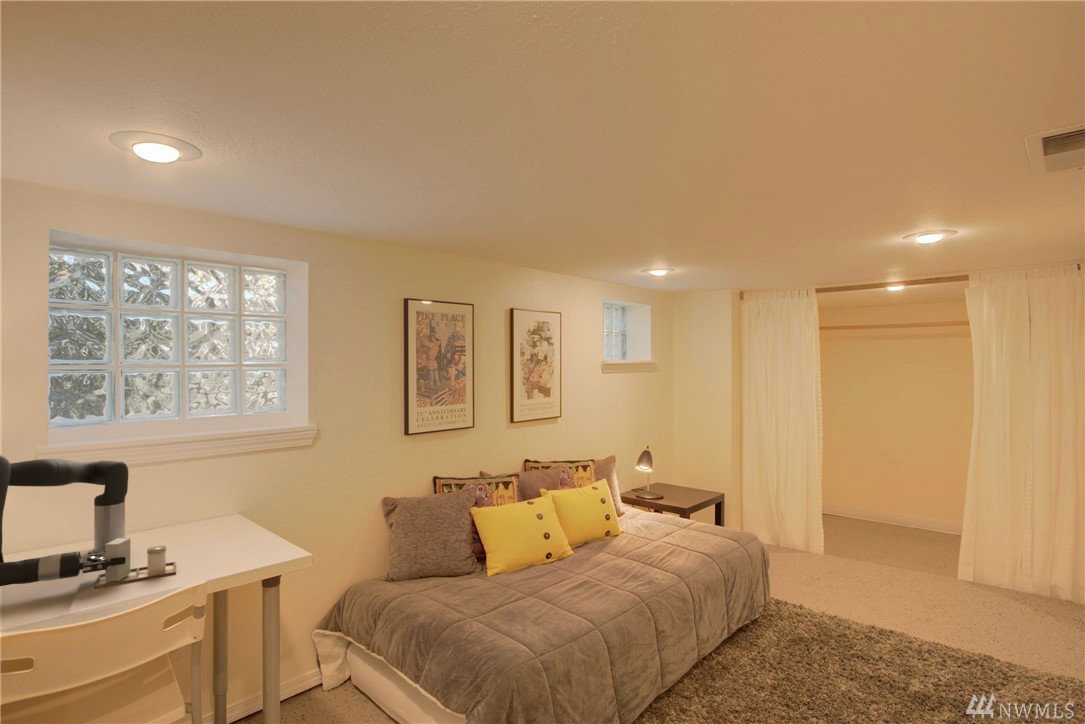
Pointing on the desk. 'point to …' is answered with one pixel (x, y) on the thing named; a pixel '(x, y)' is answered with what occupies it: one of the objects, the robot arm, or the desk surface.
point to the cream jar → (156, 560)
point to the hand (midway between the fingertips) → (126, 556)
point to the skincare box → (115, 550)
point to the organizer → (136, 576)
